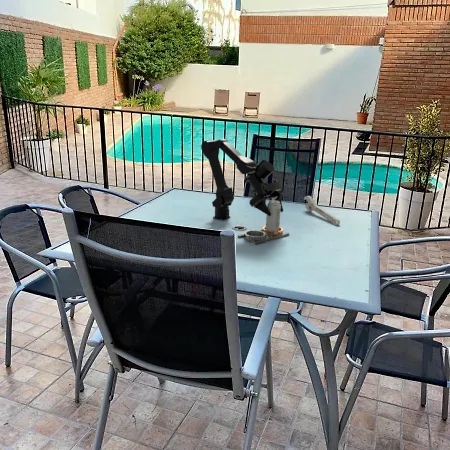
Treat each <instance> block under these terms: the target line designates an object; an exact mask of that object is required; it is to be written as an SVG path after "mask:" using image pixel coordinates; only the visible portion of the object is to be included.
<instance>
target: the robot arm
mask: <svg viewBox="0 0 450 450" xmlns="http://www.w3.org/2000/svg"><path fill="white" fill-rule="evenodd" d="M200 148H201V149H200V150H201V151H202V153H203V155H204V157H205V158H206V159H207V160H208V163H209V166H210V169H211V173H212V176H213V179H214V183H215V187H216V190H215V197H216V198H215V199H214V200H212V202H211V203H212V208H214V216H212V219H214V220H220V221H225V220H229V219H230V218H231V216H230V206H232V204H233V202H234V199H235V193H234V189H233V187H229V186H228V185H227V182H226V179H225V176H224V175H225V174H224V172H223V168H222V165H221V162H220V157H219V155H220V150H221V152H223V153H224V154H225V155H226V156H227V157H228V158H229V159H230V160H232V161H233V162H234V164H235V166H236V168H237V170H238V171H239V173H240V174H241V175H245V178H244V183H248V182H249V184H250V185H251V187H252V188H253V190H252V193H255V195H254V196H253V197H252V198H251V199H249V206H250V207H251V208H254V209H257V210H259V211H260V212H262V213H263V214H265V215H266V216H267V215H268V216H271V213H270V211H269V209H268V207H267V205H268V204H267V203H266V202H267V200H269V201H271V200H276V201H279V202H280V205H281V212H280V213H283V212H284V208H283V203H282V197H283V196H284V195H283V194H284V193H285V192H284V191H283V190H282V189H280V187H281V185H282V184H281V182H280V181H279V179H275V180H273V181H272V182H270V183H268V182H267V181H266V182H265V179H267V178H268V177H269V176H270V175H271V174H272V173H273V172H274V171H275V167H274V164H272V163H271V162H269V161H267V159H262V160H261V161H260V163H258V164H257V163H256V162H255V161H254V160H252V159H251V158H249V157H248V156H247V157H246V156H244V155H243V154H241V152H239V151H238V150H237V148H235V147H234V146H233V145H232V144H231V143H230V142H229V141H228V140H227V139H226V138H221V139H218V140H215V139H211V140H204V141H202V143H201V144H200ZM248 174H249V175H248Z"/></svg>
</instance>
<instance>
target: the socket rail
mask: <svg viewBox="0 0 450 450" xmlns="http://www.w3.org/2000/svg"><path fill="white" fill-rule="evenodd" d="M288 236H290V232H285V233H284V228H283V227H281V226H279V231H268V230H266V225H263V227H262V228H260V229H248V230H245V231H244V232H243V233H241V234H237V238H238V239H242V238H243V239H244V241H246V242H249V243H253V244H254V245H255V246H259V245H262V244H265V243H268V242H272V241H276V240H278V239H281V238H285V237H288ZM241 237H242V238H241Z"/></svg>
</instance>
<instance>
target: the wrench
mask: <svg viewBox="0 0 450 450" xmlns="http://www.w3.org/2000/svg"><path fill="white" fill-rule="evenodd" d="M303 200H306V201H307V204H305V205H304V207H305V209H306V210H307V212H308V213H310V212H311V213H313V212H315V213H317V214H318V215H319V216H321V217H322V218H324V219H326V220H327V221H328V222H330V223H331V224H333V225H334V224H336V225H335V226H339V225H340V224H341V221H340V218H337V217H335V216H334V215H332V214H331V213H330V212H328V211H326V210H324V208H322V207H320V206H319V205H317V203H316V202H315V200H314V199H313V197H312V196H311V195H306V196H304V198H303ZM311 213H310V214H311Z"/></svg>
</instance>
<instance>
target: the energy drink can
mask: <svg viewBox="0 0 450 450" xmlns="http://www.w3.org/2000/svg"><path fill="white" fill-rule="evenodd" d="M266 205H267V207H268V209H269V211H270V213H271V216H268V215H267V214H266V218H265V220H266V221H265V226H266V230H268V231H279V227H280V223H281V222H280V221H281V220H280V219H281V213H282V212H281V205H280V202H279V201H276V200H269V201H268V203H267V204H266Z"/></svg>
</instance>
